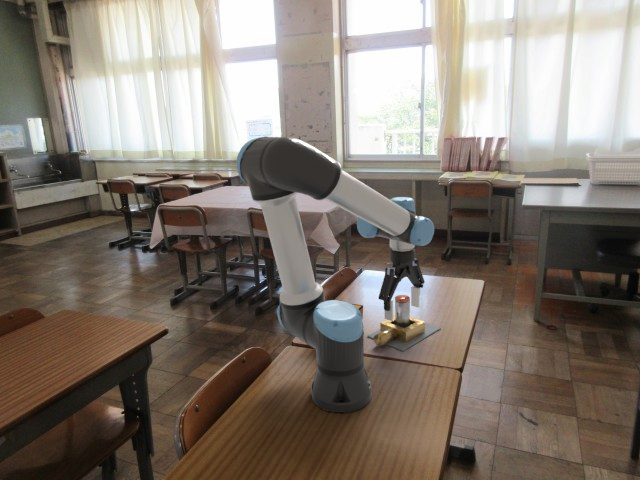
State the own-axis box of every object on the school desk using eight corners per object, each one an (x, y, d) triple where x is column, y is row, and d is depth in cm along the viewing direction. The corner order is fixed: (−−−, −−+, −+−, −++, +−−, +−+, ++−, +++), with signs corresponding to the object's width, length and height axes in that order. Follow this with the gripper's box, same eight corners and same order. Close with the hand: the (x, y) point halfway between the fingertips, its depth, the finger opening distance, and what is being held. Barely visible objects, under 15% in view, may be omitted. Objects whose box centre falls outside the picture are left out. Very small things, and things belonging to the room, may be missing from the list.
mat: (403, 351, 131) (403, 350, 131) (367, 336, 141) (367, 335, 141) (440, 328, 144) (440, 327, 144) (405, 316, 154) (405, 315, 154)
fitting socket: (391, 351, 131) (391, 340, 130) (365, 340, 138) (365, 330, 137) (424, 332, 142) (425, 321, 141) (399, 323, 149) (399, 313, 148)
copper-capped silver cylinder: (404, 337, 139) (403, 301, 136) (392, 332, 142) (391, 298, 139) (412, 332, 142) (412, 297, 139) (401, 328, 145) (400, 293, 142)
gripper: (385, 259, 124) (386, 329, 129) (436, 241, 140) (435, 303, 146) (365, 255, 130) (367, 322, 135) (416, 238, 146) (416, 298, 151)
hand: (402, 312), depth 140 cm, fingers open, 13 cm apart
